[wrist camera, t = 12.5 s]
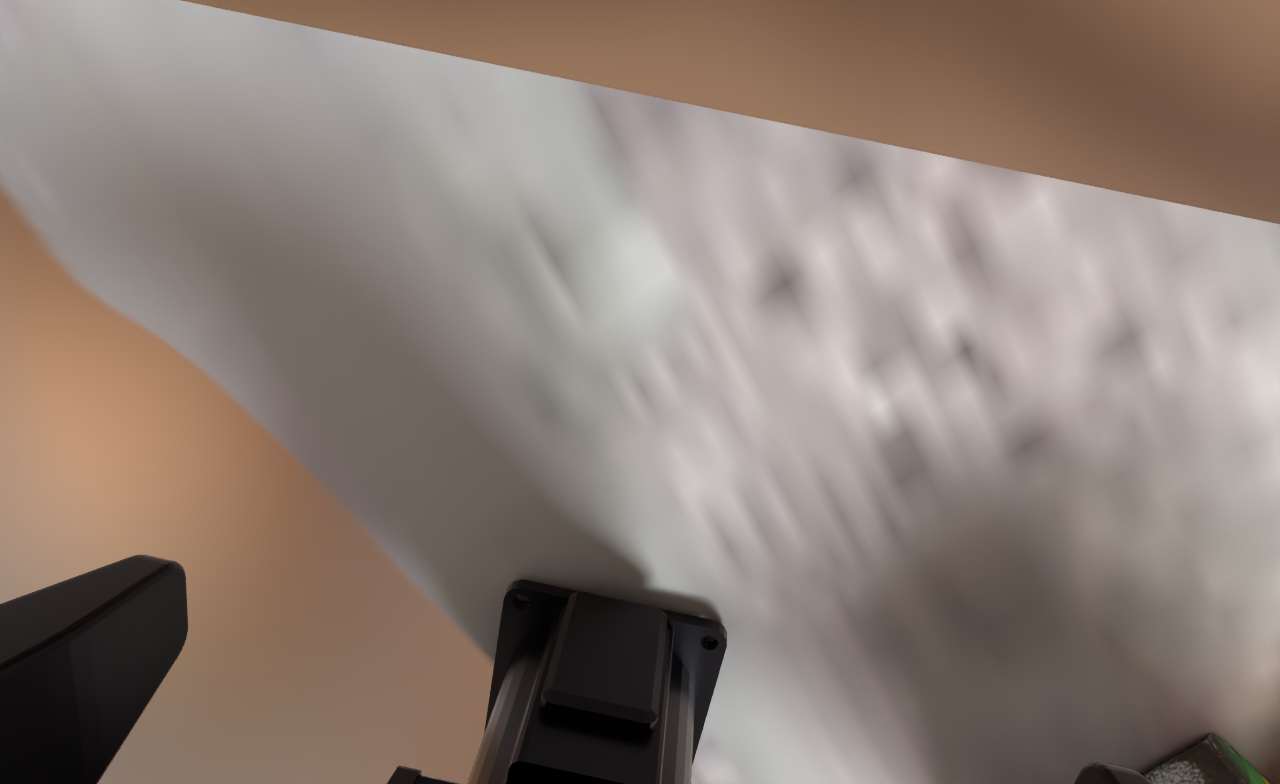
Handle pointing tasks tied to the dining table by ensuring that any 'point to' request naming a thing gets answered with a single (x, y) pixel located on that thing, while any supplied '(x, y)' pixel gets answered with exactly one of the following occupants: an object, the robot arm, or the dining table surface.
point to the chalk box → (1206, 766)
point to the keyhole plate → (913, 74)
